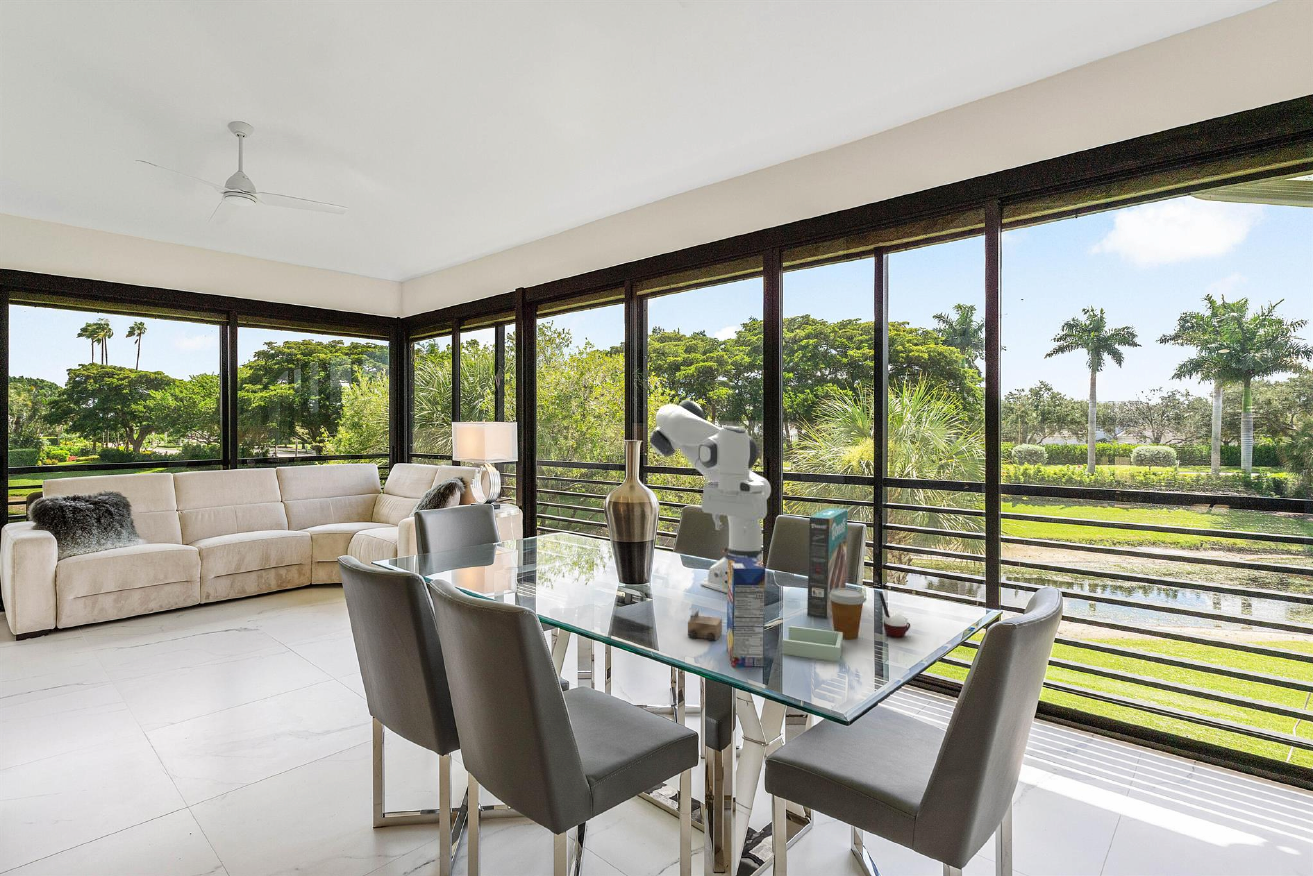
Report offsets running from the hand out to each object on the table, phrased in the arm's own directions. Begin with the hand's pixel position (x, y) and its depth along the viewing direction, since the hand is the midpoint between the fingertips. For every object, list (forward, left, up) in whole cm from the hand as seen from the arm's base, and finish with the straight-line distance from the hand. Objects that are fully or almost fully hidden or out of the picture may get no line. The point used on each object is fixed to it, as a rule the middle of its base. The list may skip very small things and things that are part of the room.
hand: (732, 531), depth 186 cm
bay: (+26, -1, -27) cm, 38 cm away
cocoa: (+38, +24, -27) cm, 52 cm away
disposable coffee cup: (+28, +15, -27) cm, 42 cm away
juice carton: (+16, -18, -27) cm, 37 cm away
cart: (-1, -11, -27) cm, 29 cm away
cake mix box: (+13, +35, -27) cm, 46 cm away
